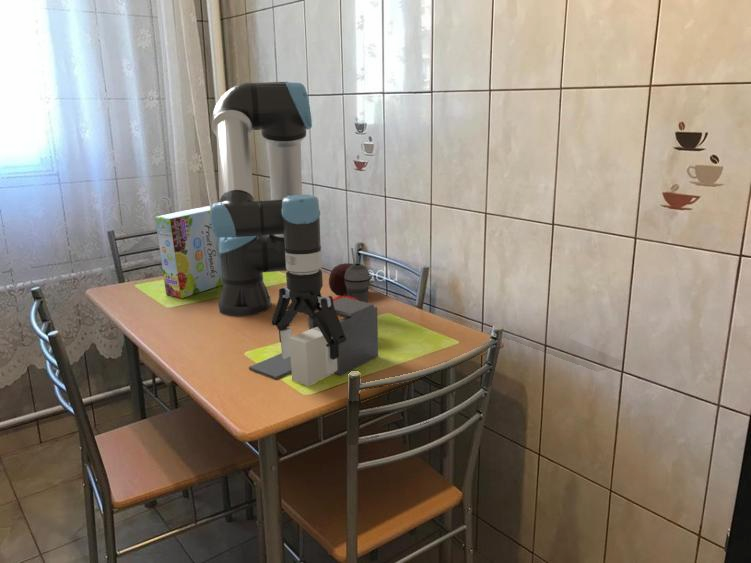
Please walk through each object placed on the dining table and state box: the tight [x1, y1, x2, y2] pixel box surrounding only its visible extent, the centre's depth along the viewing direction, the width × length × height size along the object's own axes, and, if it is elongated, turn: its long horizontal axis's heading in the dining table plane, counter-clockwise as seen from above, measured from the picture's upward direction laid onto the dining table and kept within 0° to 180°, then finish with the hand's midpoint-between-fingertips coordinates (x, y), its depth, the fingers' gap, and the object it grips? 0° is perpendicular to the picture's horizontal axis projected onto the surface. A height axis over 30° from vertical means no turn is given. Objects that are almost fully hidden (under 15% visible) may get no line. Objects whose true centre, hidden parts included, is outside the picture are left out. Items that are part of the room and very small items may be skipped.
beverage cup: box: [344, 247, 371, 303], centre depth 171 cm, size 7×7×20 cm
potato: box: [328, 262, 353, 297], centre depth 193 cm, size 11×13×10 cm
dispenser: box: [307, 297, 379, 377], centre depth 144 cm, size 9×13×13 cm
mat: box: [248, 352, 292, 380], centre depth 146 cm, size 9×16×1 cm, turn 141°
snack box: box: [154, 205, 223, 299], centre depth 201 cm, size 22×9×26 cm, turn 144°
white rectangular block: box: [289, 326, 337, 387], centre depth 139 cm, size 5×14×10 cm, turn 141°
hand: (309, 364), depth 136 cm, fingers open, 13 cm apart
